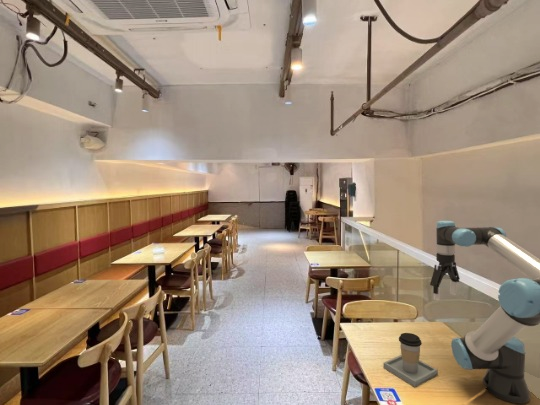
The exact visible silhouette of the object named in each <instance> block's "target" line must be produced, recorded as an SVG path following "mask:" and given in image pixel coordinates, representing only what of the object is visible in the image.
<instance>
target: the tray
mask: <svg viewBox="0 0 540 405" xmlns="http://www.w3.org/2000/svg"><path fill="white" fill-rule="evenodd" d="M382 364H383V365H382V366H383V369H385V370H386V371H387V372H389V373H391V374H393V375H394V376H396V377H397V378H399V379H401V380H402V381H404V382H406V383H407V384H409V385H410V386H412V387H414V388H417V387H419V386H420V385H421V386H422V384H425V383H426V382H429V381H430V380H432V379H433V378H436V377H437V376H439V371H438V368H435V367H433V366H431V365H430V364H429V363H426V362H424V361H422V360H420V359H419V362H418V369H417V372H416V373H409V372H407V371H405V370H404V369H403V361H402V355H401V354H400V355H398V356H395V357H393V358H391V359H389V360H387V361H383V363H382Z"/></svg>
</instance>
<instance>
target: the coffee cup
mask: <svg viewBox="0 0 540 405" xmlns="http://www.w3.org/2000/svg"><path fill="white" fill-rule="evenodd" d="M398 342H400V355H402V361H403V369H404V370H405V371H407V372H409V373H416V372H417V369H418V362H419V360H420V355H421V346H422V344H423V343H422V339H420V336H418V335H416V334H414V333H412V332H404V333H401V334H400V335H399V337H398Z"/></svg>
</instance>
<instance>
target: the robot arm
mask: <svg viewBox="0 0 540 405" xmlns="http://www.w3.org/2000/svg"><path fill="white" fill-rule="evenodd" d="M435 235H436V254H435V255H436V256H435V257H436V261H437V262H438V264H434V267H433V268H434V269H433V273H432V276H431V280H430V283H429V285H430V286H432V287H433V289H432V290H433V292H432V294H433V295H432V296H433V300H434V301H437V302H440V301H441V286H440V285H441V283H442V280H443V279H444V277H445V275H446V274H447V275H448V276H449V279H450V281H449V295H451V296H455V297H456V296H457V291H458V290H457V287H458V286H457V283H460V274H459V272H458V269H457V268H458V267H457V263H456V262H455V260H456V258H455V257H456V255H455V253H456V245H457V246H460V247H466V248H467V247H468V248H469V247H471V246H473V245H474V246H475V245H476V246H477V245H479V246H480V245H482V246H486V247H487V248H489V249H490V250H492V251H493V252H494V254H496V255H498V256H499V257H501V258H502V259H503V260H505V261H506V262H507V263H508V264H509V265H511V266H512V267H514V268H515V269H516V270H517V271H519V272H520V273H522V274H523V275H524V276H526V277H527V278H526V277H519V278H512V279H508V280H505V281H504V282H503V283H502V284H501V285H500V287H499V288H498V293H499V294H497V298H498V302H499V305H500V306H499V307H498V308H497V309H496V310H495V311H494V312H493V313H492V314H491V315H490V316H489V317H488V318H487V319H486V320H485V321H484V322H483V323H482V324H481V325H480V326H479V327H478V328H477V330H469V332H468V331H467V333H466V334H465V335H464V336H463V337H454V338H452V340H451V342H450V343H451V344H450V346H451V351H452V356H453V357H454V359H455V361H456V363H457V364H458V366H460V367H461V368H462V369H464V370H470V371H473V370H486V372H485V373H484V376H483V377H482V378H483V379H482V381H483V384H484V386H485V388H484V389H485V390H486V391H487V392H488V393H489V394H491V395H492V396H494V397H496V398H498V399H499V400H503V401H504V402H508V403H513V404H526V403H528V402H530V400H531V397H530V396H531V394H530V390H529V387H528V385H527V384H528V383H527V382H526V378H525V361H526V360H525V359H526V350H525V344H524V343H523V341H522V340H521V339H519V338H518V337H516V336H517V335H518V334H519V333H520V332H522V330H524V329H525V328H526V327H536V326H538V325H540V258H538V257H537V256H535V255H534V254H532V253H531V252H529V251H528V250H527V249H525V248H523V247H522V246H520V245H518V244H517V243H516V242H515V241H513V240H511V239H510V238H508V237H507V233H506V232H505V230H504V229H503V228H501V227H494V226H488V227H485V226H483V227H458V226H457V227H456V222H454V221H452V220H439V221H437V222H436V234H435Z"/></svg>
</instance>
